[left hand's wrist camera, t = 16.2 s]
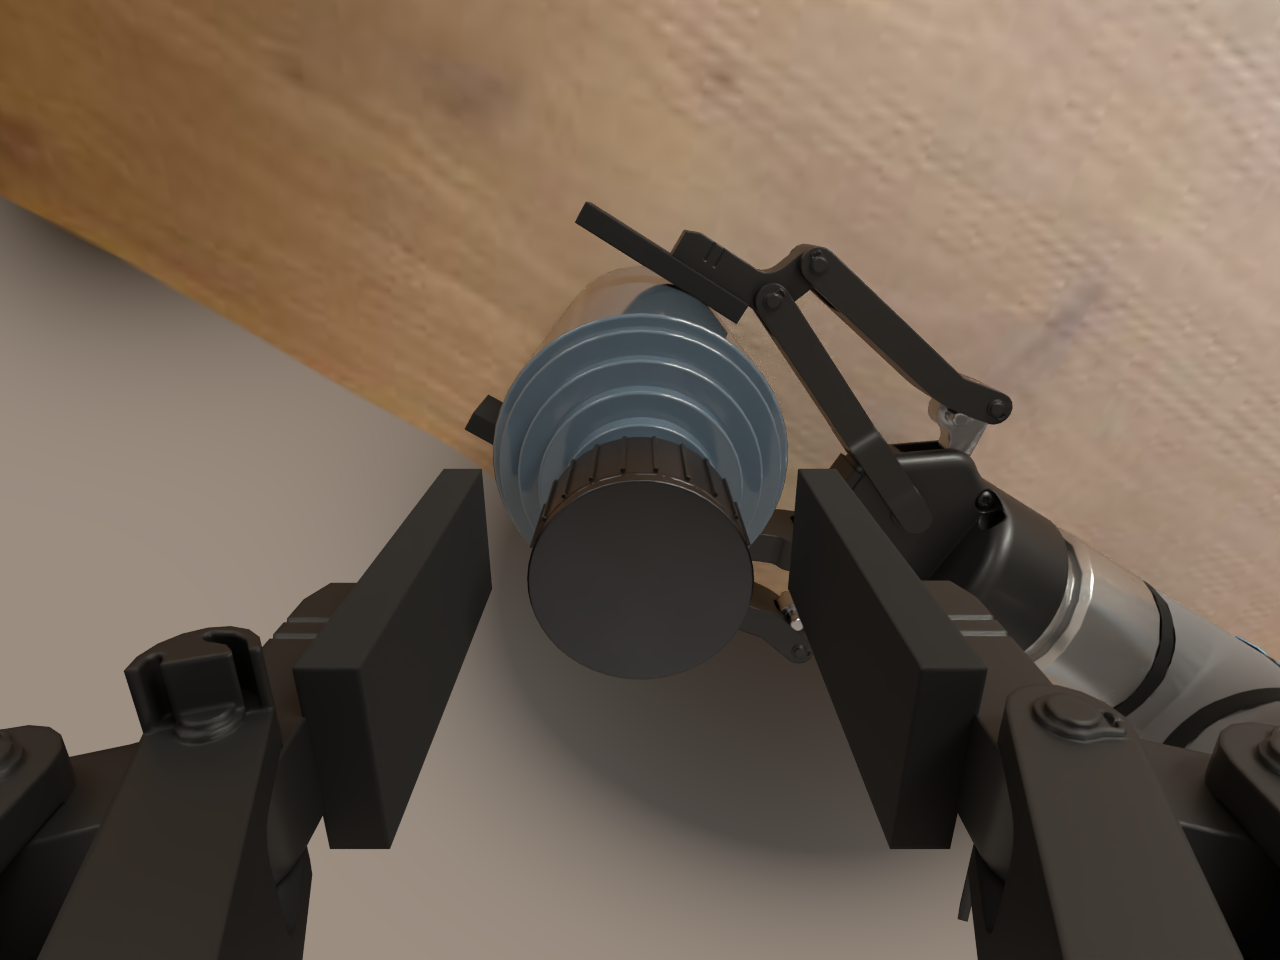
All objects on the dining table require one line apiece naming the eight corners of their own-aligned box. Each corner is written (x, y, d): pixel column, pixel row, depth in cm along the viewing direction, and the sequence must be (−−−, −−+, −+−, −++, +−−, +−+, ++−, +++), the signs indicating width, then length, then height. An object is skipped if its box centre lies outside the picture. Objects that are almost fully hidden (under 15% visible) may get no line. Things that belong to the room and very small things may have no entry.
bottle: (735, 279, 32) (901, 396, 12) (706, 439, 34) (800, 758, 14) (567, 254, 31) (436, 332, 11) (551, 418, 34) (423, 717, 14)
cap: (502, 501, 14) (476, 556, 12) (671, 394, 14) (678, 431, 11) (613, 642, 16) (609, 716, 13) (774, 551, 15) (799, 614, 12)
